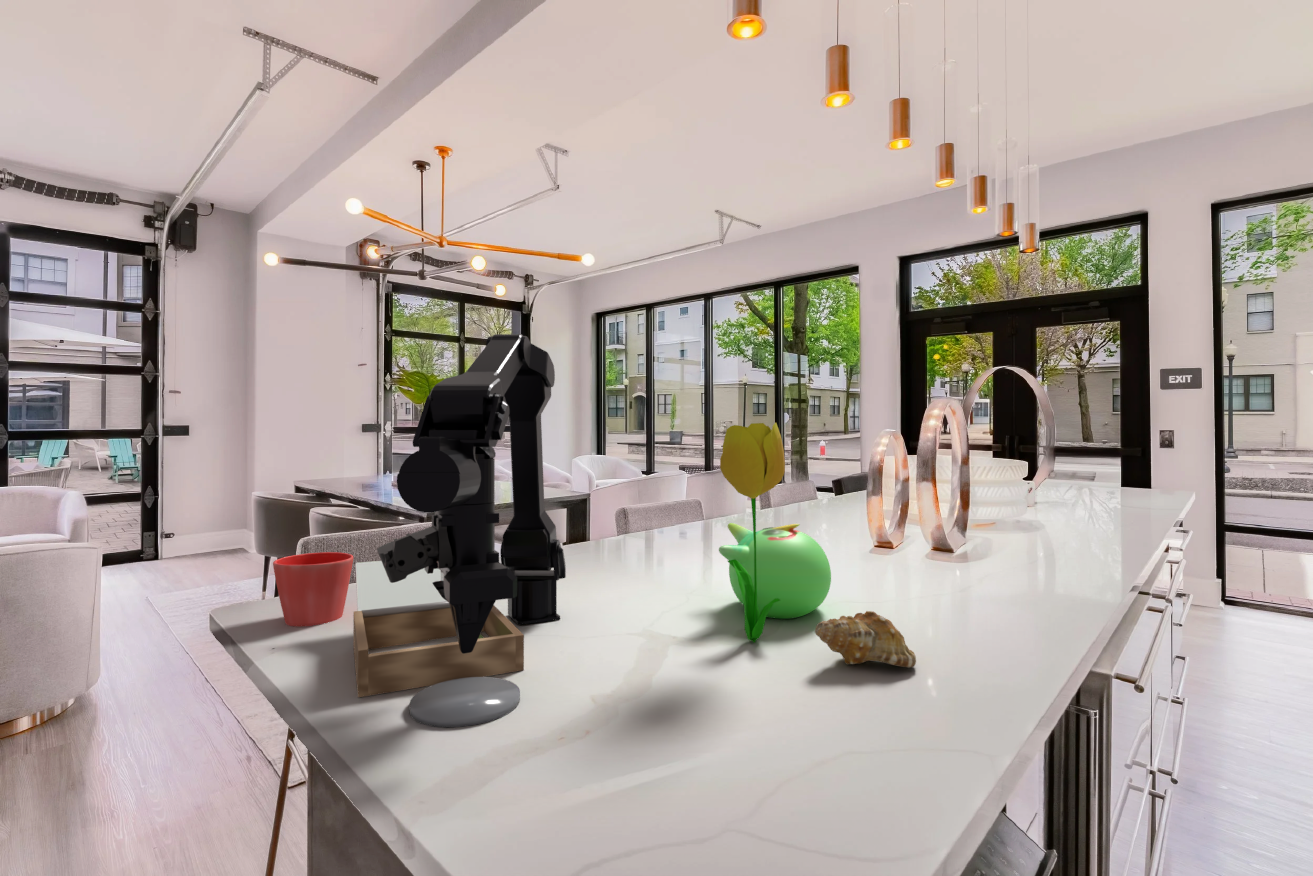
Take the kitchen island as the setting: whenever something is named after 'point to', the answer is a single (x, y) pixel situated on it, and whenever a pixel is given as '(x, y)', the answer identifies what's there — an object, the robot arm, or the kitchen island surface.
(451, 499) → the robot arm
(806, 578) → the round green toy
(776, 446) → the flower
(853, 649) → the seashell
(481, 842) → the kitchen island surface
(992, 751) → the kitchen island surface
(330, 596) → the flower pot
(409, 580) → the lid
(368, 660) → the box
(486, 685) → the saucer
